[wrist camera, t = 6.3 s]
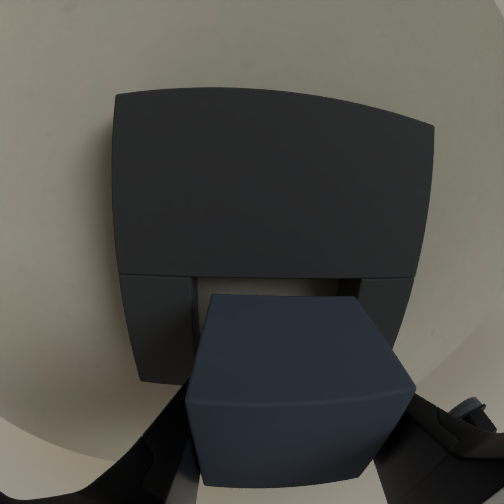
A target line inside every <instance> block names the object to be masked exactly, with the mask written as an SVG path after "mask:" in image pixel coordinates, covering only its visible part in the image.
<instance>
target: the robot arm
mask: <svg viewBox="0 0 504 504" xmlns="http://www.w3.org/2000/svg"><path fill="white" fill-rule="evenodd" d="M189 380H190V377H189V378H188V380H187V381H186V382H185V383H184V385H183V386H182V387H181V388H180V390H179V391H178V392H177V393H176V394H175V396H174V397H173V398H172V399H171V401H170V402H169V403H168V404H167V406H166V407H165V408H164V409H163V411H162V412H161V413H160V414H159V415H158V417H157V418H156V419H155V420H154V421H153V423H152V424H151V425H150V426H149V427H148V429H147V430H146V431H145V432H144V433H143V436H141V437H140V438H139V439H138V441H137V442H136V443H135V444H134V445H133V446H132V447H131V448H130V450H129V451H128V452H127V453H126V454H125V455H124V456H123V457H122V458H120V459H119V460H118V461H117V462H116V463H115V464H114V465H113V466H112V467H111V468H109V469H108V470H107V471H106V472H104V473H103V474H102V475H101V476H100V477H99V478H97V479H96V480H95V481H94V482H92V483H91V484H90V485H89V486H87V487H86V488H84V489H82V490H80V491H77V492H74V493H69V494H64V495H60V496H53V497H48V498H40V499H32V500H17V499H13V498H10V497H8V496H6V495H5V494H3V493H2V492H0V504H196V498H197V491H198V485H199V478H200V468H199V464H198V460H197V456H196V452H195V448H194V444H193V439H192V435H191V430H190V425H189V420H188V415H187V410H186V405H185V396H186V392H187V388H188V384H189ZM485 407H486V405H485V404H483V405H481V406H479V407H477V408H476V409H474V410H472V411H470V412H468V413H466V414H464V415H462V416H460V417H458V418H456V417H454V416H453V415H451V414H449V413H447V412H445V411H444V410H442V409H440V408H439V407H436V406H435V405H434V404H432V403H430V402H429V401H427V400H425V399H424V398H422V397H420V396H419V395H417V394H416V393H414V395H413V397H412V399H411V400H410V402H409V404H408V406H407V408H406V409H405V411H404V413H403V414H402V416H401V418H400V419H399V421H398V423H397V424H396V426H395V427H394V429H393V431H392V432H391V434H390V435H389V437H388V438H387V440H386V441H385V443H384V444H383V446H382V447H381V448H380V450H379V451H378V453H377V454H376V455H375V457H374V458H373V460H374V463H375V466H376V469H377V472H378V475H379V478H380V481H381V484H382V487H383V490H384V494H385V497H386V500H387V503H388V504H504V433H496V431H497V429H496V427H495V426H494V424H493V423H492V422H491V420H490V419H489V418H488V416H487V415H486V414H485V413H484V411H483V410H484V409H485Z"/></svg>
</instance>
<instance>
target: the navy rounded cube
mask: <svg viewBox="0 0 504 504" xmlns="http://www.w3.org/2000/svg"><path fill="white" fill-rule="evenodd" d="M415 391H416V386H415V384H414V382H413V381H412V379H411V378H410V376H409V375H408V373H407V372H406V370H405V368H404V367H403V365H402V364H401V362H400V361H399V359H398V358H397V356H396V355H395V353H394V352H393V350H392V349H391V347H390V346H389V344H388V343H387V342H386V340H385V339H384V337H383V336H382V334H381V333H380V331H379V330H378V328H377V327H376V326H375V324H374V323H373V321H372V320H371V319H370V317H369V316H368V314H367V313H366V312H365V310H364V309H363V307H362V306H361V305H360V303H359V302H358V300H357V299H356V298H355V297H354V296H259V295H230V294H212V296H211V300H210V303H209V307H208V311H207V314H206V318H205V322H204V326H203V329H202V333H201V337H200V341H199V345H198V349H197V352H196V356H195V360H194V364H193V368H192V372H191V376H190V380H189V384H188V388H187V392H186V396H185V405H186V410H187V415H188V420H189V425H190V430H191V435H192V439H193V444H194V448H195V452H196V456H197V460H198V464H199V468H200V472H201V475H202V480H203V483H204V485H206V486H213V487H229V488H281V487H282V488H283V487H296V486H307V485H316V484H324V483H330V482H336V481H343V480H348V479H353V478H358V477H359V476H360V475H361V474H362V472H363V471H364V470H365V468H366V467H367V466H368V465H369V463H370V462H371V461H372V459H373V458H374V457H375V455H376V454H377V453H378V451H379V450H380V448H381V447H382V446H383V444H384V443H385V441H386V440H387V438H388V437H389V435H390V434H391V432H392V431H393V429H394V427H395V426H396V424H397V423H398V421H399V419H400V418H401V416H402V414H403V413H404V411H405V409H406V408H407V406H408V404H409V402H410V400H411V399H412V397H413V395H414V393H415Z"/></svg>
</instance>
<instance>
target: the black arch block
mask: <svg viewBox="0 0 504 504" xmlns="http://www.w3.org/2000/svg"><path fill="white" fill-rule="evenodd" d="M433 156H434V126H433V125H430V124H428V123H425V122H422V121H419V120H416V119H413V118H410V117H406V116H403V115H400V114H396V113H393V112H389V111H386V110H382V109H378V108H374V107H370V106H366V105H362V104H358V103H353V102H348V101H343V100H338V99H333V98H328V97H322V96H315V95H309V94H302V93H294V92H285V91H276V90H264V89H250V88H221V87H202V88H174V89H160V90H148V91H139V92H131V93H123V94H117V95H116V97H115V107H114V119H113V136H112V206H113V223H114V237H115V247H116V257H117V266H118V272H119V273H120V274H119V281H120V287H121V294H122V300H123V306H124V312H125V317H126V322H127V327H128V332H129V337H130V341H131V346H132V350H133V354H134V358H135V362H136V366H137V370H138V374H139V378H140V381H143V382H151V383H161V384H171V385H184V383H185V382H186V381H187V380H188V378H189V377H190V376H191V372H192V368H193V364H194V360H195V356H196V352H197V349H198V345H199V341H200V333H199V315H198V291H197V277H222V278H285V279H341V281H340V286H339V291H338V296H354V297H355V298H356V299H357V300H358V302H359V303H360V305H361V306H362V307H363V309H364V310H365V312H366V313H367V314H368V316H369V317H370V319H371V320H372V321H373V323H374V324H375V326H376V327H377V328H378V330H379V331H380V333H381V334H382V336H383V337H384V339H385V340H386V342H387V343H388V344H389V346H390V347H391V349H393V346H394V343H395V341H396V338H397V335H398V332H399V329H400V326H401V323H402V320H403V317H404V314H405V311H406V307H407V304H408V301H409V297H410V294H411V290H412V286H413V282H414V278H413V277H415V274H416V270H417V266H418V262H419V257H420V253H421V248H422V243H423V238H424V232H425V226H426V220H427V214H428V207H429V200H430V191H431V182H432V171H433Z"/></svg>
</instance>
